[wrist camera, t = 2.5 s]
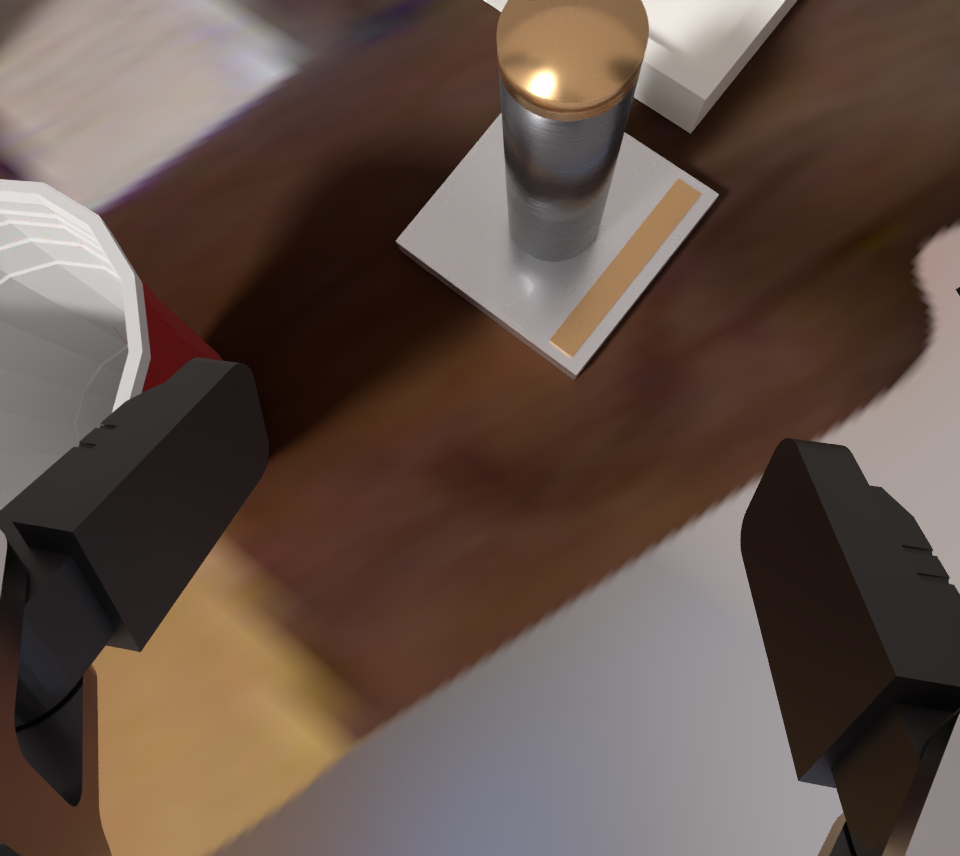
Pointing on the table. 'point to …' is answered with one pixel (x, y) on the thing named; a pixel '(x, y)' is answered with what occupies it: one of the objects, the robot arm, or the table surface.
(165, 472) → the robot arm
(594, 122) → the battery cell
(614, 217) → the plate
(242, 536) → the table surface
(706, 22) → the white square tray
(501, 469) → the table surface
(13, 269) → the plastic cup
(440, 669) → the table surface
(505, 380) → the table surface
